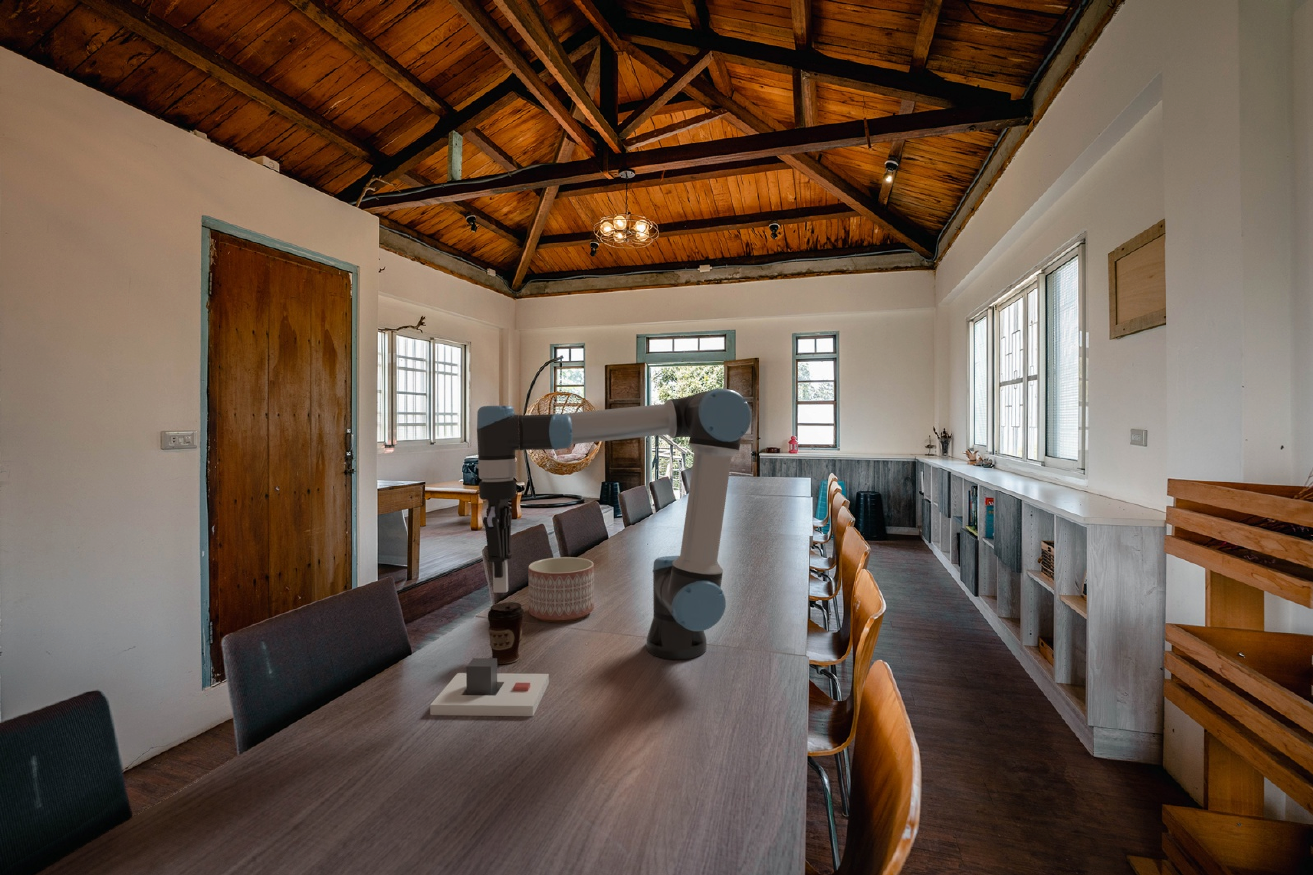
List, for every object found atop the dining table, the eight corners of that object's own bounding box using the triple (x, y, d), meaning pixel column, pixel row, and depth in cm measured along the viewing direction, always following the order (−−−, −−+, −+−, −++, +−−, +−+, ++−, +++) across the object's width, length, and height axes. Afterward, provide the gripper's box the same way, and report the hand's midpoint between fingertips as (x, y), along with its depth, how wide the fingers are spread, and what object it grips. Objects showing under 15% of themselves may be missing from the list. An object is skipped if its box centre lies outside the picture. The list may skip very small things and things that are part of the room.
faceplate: (548, 683, 122) (548, 670, 122) (533, 716, 108) (532, 701, 108) (457, 682, 122) (457, 669, 122) (430, 715, 108) (430, 700, 108)
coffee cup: (513, 668, 129) (513, 612, 129) (480, 665, 131) (480, 610, 130) (529, 653, 138) (529, 601, 137) (498, 651, 139) (498, 599, 139)
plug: (497, 691, 117) (497, 658, 117) (491, 701, 113) (490, 666, 113) (473, 691, 117) (473, 658, 117) (466, 700, 113) (466, 666, 113)
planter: (606, 610, 170) (606, 562, 170) (564, 630, 154) (563, 576, 153) (559, 600, 180) (559, 554, 180) (514, 617, 164) (514, 567, 164)
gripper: (489, 476, 124) (492, 583, 124) (468, 483, 111) (472, 601, 111) (523, 476, 123) (526, 582, 124) (506, 482, 110) (510, 600, 111)
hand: (500, 591), depth 118 cm, fingers closed
